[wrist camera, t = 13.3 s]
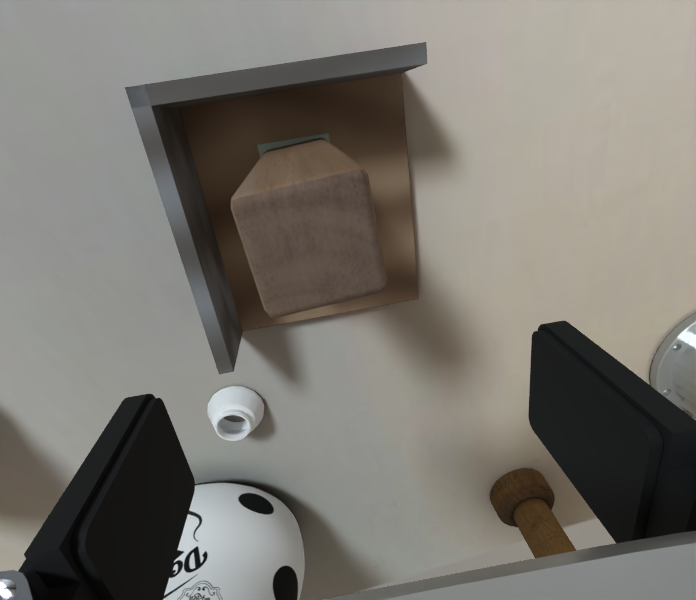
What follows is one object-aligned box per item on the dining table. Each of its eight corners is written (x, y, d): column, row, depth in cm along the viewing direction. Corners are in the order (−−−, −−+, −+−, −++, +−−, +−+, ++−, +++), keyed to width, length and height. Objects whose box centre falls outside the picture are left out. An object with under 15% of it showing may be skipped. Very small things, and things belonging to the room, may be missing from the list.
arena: (415, 294, 36) (441, 332, 30) (232, 327, 35) (219, 374, 29) (396, 58, 29) (426, 42, 22) (162, 93, 28) (124, 87, 22)
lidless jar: (275, 407, 40) (239, 374, 38) (273, 429, 37) (234, 393, 35) (235, 435, 40) (197, 403, 38) (231, 458, 38) (190, 425, 36)
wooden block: (351, 255, 33) (409, 394, 17) (295, 269, 33) (299, 422, 16) (325, 136, 29) (368, 163, 13) (262, 150, 29) (224, 197, 13)
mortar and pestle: (508, 462, 46) (626, 653, 30) (554, 473, 48) (690, 660, 31) (479, 504, 48) (575, 703, 32) (524, 514, 50) (637, 707, 34)
